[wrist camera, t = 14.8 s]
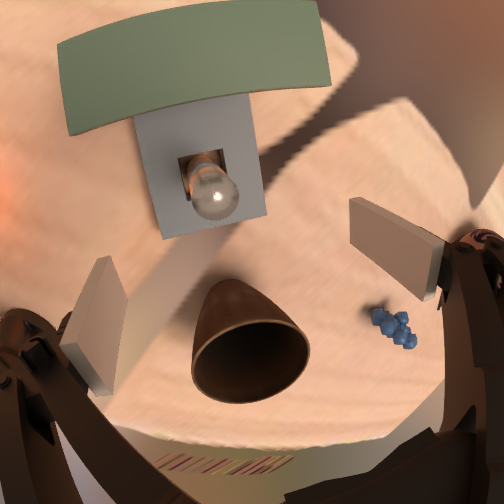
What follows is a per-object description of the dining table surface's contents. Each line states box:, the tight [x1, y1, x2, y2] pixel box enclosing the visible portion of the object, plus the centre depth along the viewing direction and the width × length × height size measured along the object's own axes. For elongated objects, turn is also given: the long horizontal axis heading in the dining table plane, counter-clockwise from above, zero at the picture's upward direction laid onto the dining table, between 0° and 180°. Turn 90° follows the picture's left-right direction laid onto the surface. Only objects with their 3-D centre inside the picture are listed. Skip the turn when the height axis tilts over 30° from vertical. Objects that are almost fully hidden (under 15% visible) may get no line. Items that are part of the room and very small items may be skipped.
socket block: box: [133, 93, 267, 240], centre depth 35 cm, size 18×14×4 cm
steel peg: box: [187, 156, 239, 221], centre depth 31 cm, size 4×4×16 cm
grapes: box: [371, 308, 417, 349], centre depth 53 cm, size 12×7×12 cm, turn 59°
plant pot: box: [191, 280, 310, 404], centre depth 40 cm, size 15×15×16 cm
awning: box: [57, 0, 332, 136], centre depth 24 cm, size 7×18×21 cm, turn 99°
